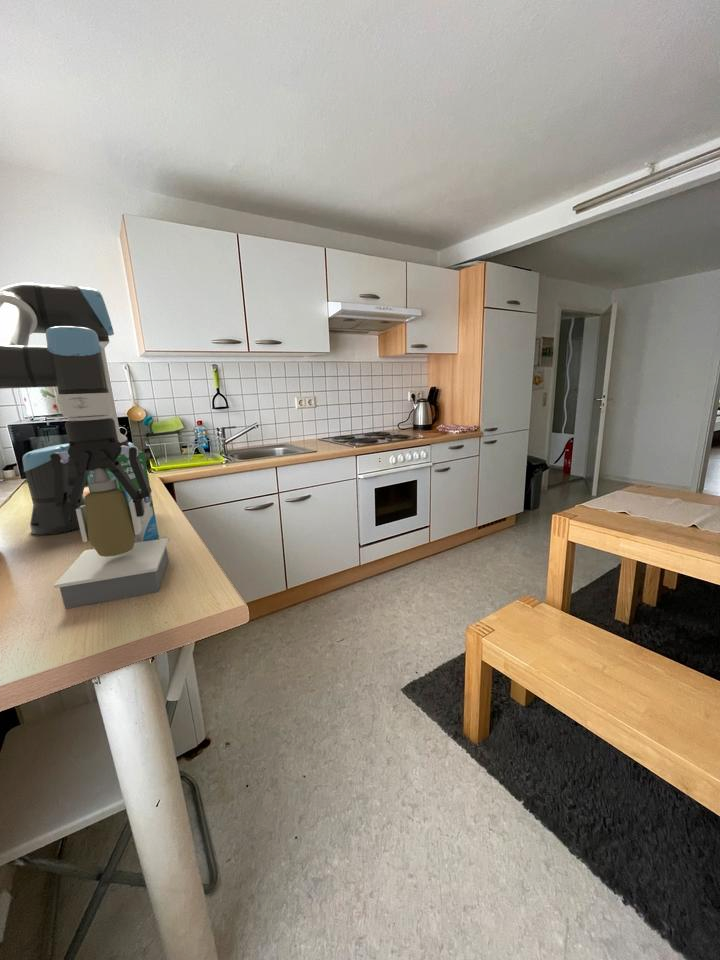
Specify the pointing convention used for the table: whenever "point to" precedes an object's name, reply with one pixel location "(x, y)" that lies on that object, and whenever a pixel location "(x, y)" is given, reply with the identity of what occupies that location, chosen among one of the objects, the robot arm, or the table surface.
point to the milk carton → (148, 518)
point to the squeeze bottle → (108, 516)
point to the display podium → (114, 574)
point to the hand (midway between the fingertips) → (113, 535)
